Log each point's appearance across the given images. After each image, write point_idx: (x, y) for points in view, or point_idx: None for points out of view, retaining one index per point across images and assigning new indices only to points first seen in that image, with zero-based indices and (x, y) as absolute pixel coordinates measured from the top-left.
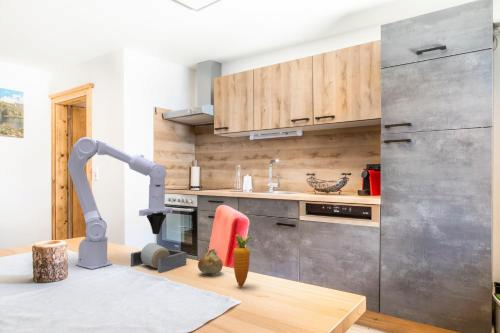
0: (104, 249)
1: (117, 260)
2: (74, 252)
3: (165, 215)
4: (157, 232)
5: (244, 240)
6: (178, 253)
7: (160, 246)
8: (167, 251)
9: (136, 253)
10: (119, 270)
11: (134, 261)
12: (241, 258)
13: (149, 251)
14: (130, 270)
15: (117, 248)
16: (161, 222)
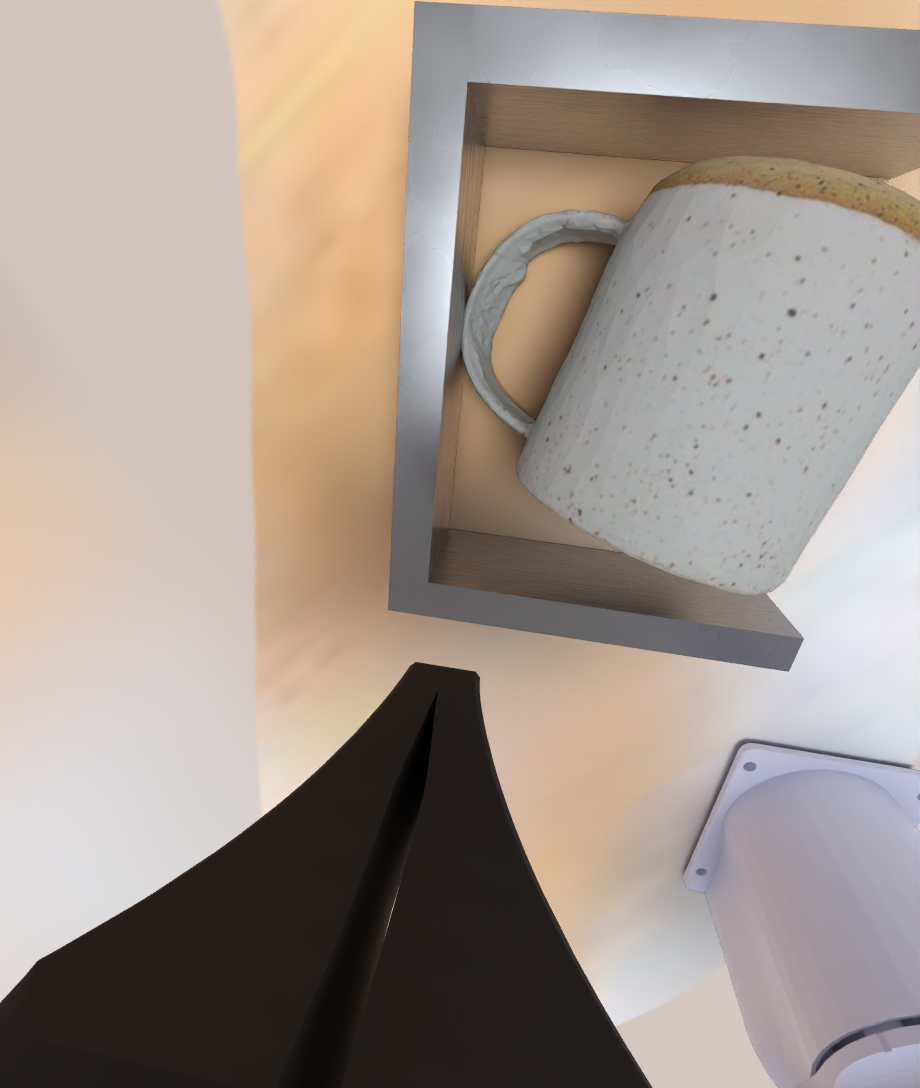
0: (900, 897)
1: (610, 778)
2: None
3: (19, 1059)
4: (459, 684)
5: None
6: (557, 75)
7: (787, 309)
8: (756, 157)
9: (751, 628)
10: (903, 589)
11: None
12: None
13: (885, 416)
14: (879, 506)
15: None
16: (321, 825)
